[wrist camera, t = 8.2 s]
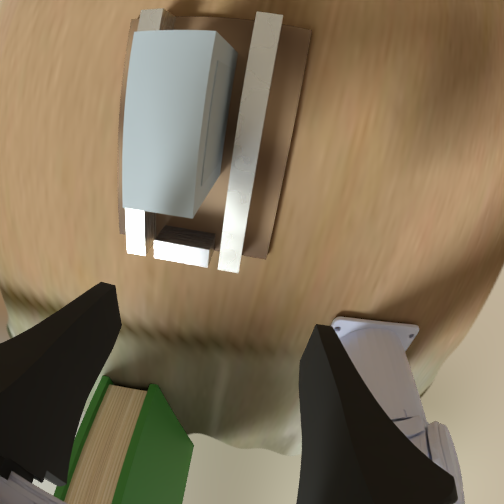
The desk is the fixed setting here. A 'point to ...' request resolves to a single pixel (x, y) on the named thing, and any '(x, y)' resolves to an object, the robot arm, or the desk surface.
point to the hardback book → (128, 450)
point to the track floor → (273, 137)
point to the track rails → (242, 167)
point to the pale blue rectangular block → (175, 119)
